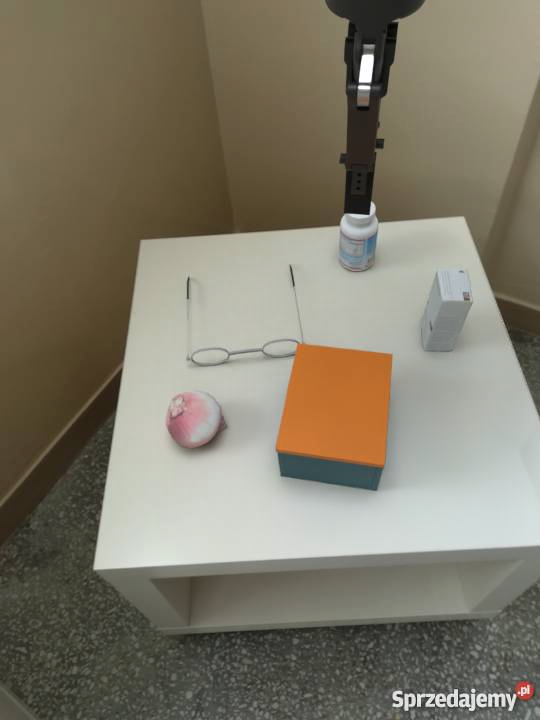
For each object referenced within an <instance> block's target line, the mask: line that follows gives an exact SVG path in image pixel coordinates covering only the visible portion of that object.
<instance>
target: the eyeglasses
mask: <svg viewBox="0 0 540 720" xmlns="http://www.w3.org/2000/svg"><path fill="white" fill-rule="evenodd" d="M289 270H290V277H291V283H292V287H293V292H294V298H295V303H296V310H297V316H298V321H299V328H300V334H301V341H302V343H301V344H306V343H305V341H304V337H303V336H304V335H303V330H302V323H301V317H300V313H299V306H298V299H297V293H296V288H295V286H296V285H295V284H296V283H295V278H294V271H293V267H292V264H289ZM189 283H190V276H187V280H186V300H187V302H186V304H187V305H186V306H187V308H186V309H187V319H189V299H190V284H189ZM281 342H291V343H292V342H293V343H295V344H298V343H300V342H299V340H297V339H293V338H280V339H279V338H278V339H274V340H270V341H268V342H265V343H264V344H263V345H262V346H261V347H258V348H257V347H256V348H249V349H248V348H247V349H240V350H239V349H238V350H233V351H229V350H227V348H224V347H216V346H215V347H214V346H213V347H205V348H199V349H197V350H195V351H193V352H192V353H191V356H189V355H186V357H185V361H191V362H192V363H193V364H195V365H196V366H202V367H207V366H216V365H221V364H224V363H225V362H227V361H228V360H229V359H230V357H231V356H232V355H233V356H234V355H241V354H242V355H243V354H250V353H259V352H261V353H262V354H263V355H265V356H267V357H270V358H284V357H288V356H293V355H295V353H296V350H293V351H291V352H288V353H282V354H271V353H267V352H265V351H264V350H265V347H266V346H269V345H271V344H274V343H275V344H276V343H281ZM205 351H206V352H207V351H223V352H225V353H226V354H227V356H226V358H224V359H222V360H219V361H216V362H215V361H214V362H198V361H196V360H194V355H197V354H198V353H200V352H205Z"/></svg>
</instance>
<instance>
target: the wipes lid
mask: <svg viewBox="0 0 540 720" xmlns="http://www.w3.org/2000/svg"><path fill="white" fill-rule="evenodd" d="M295 351H296V353H295V354H294V357H293V358H294V359H293V362H292V368H291V372H290V377H289V382H288V387H287V390H286V391H287V392H286V395H285V396H286V397H285V401H284V405H283V409H282V415H281V420H280V424H279V429H278V434H277V439H276V442H275V448H274V449H275V453H277V452H279V453H286V454H293V455H300V456H307V457H313V458H320V459H327V460H334V461H340V462H347V463H354V464H361V465H367V466H374V467H381V468H383V469H385V466H386V456H387V455H386V454H387V440H388V426H389V411H390V398H391V384H392V368H393V353H389V352H388V353H387V352H379V351H368V350H361V349H353V348H344V347H334V346H326V345H316V344H310V343H309V344H308V343H305V344H302V343H300V342H299V343H296V349H295Z"/></svg>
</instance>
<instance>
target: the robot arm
mask: <svg viewBox="0 0 540 720" xmlns="http://www.w3.org/2000/svg"><path fill="white" fill-rule="evenodd" d="M324 2H325V5H326V6H327V8H328V10H329V11H330V12H331V13H332V14H334V15H335V16H336V17H338V18H341V19H346V20H347V21H348V23H347V24H348V27H347V36H345V38H344V48H343V49H344V51H343V62H344V64H345V65H346V70H345V71H346V72H345V75H346V76H345V95H346V103H347V105H346V106H347V113H346V114H347V116H346V118H347V119H346V120H347V121H346V146H345V147H346V149H345V151H346V152H345V153H343V152H341V153H340V156H339V160H338V161H339V163H338V164H339V165H344V167H345V183H344V185H345V186H344V187H345V188H344V201H343V202H344V203H343V214H344V215H345V214H359V215H370V208H371V201H372V200H373V189H374V178H375V171H376V162H377V153H378V152H377V151H376V150H384V148H385V147H384V146H385V138H381V137H380V138H379V137H378V130H379V129H380V128H381V121H380V114H381V113H380V112H381V104H382V99H383V98H384V97H386V96H387V94H388V89H389V83H390V81H389V80H390V73H391V67H392V65H393V64H394V62H395V56H396V49H397V48H396V47H397V39H398V31H399V21H396V20H403V19H405V18H408V17H410V16H412V15H414V14H415V13H416V12H418V11H419V10H420V9H421V8H422V7H423V5H424V4H425V2H426V0H324Z"/></svg>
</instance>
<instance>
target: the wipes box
mask: <svg viewBox="0 0 540 720" xmlns="http://www.w3.org/2000/svg"><path fill="white" fill-rule="evenodd" d="M276 453H277V460H278V466H279V468H278V469H279V475H280V477H284V478H291V479H296V480H303V481H310V482H317V483H323V484H328V485H335V486H343V487H347V488H356V489H362V490H368V491H373V492H374V491H375V492H377V491H378V489H379V485H380V481H381V478H382V474H383V471H384V468H381V467H374V466H367V465H361V464H354V463H347V462H340V461H334V460H327V459H320V458H313V457H307V456H300V455H293V454H286V453H279V452H276Z"/></svg>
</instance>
